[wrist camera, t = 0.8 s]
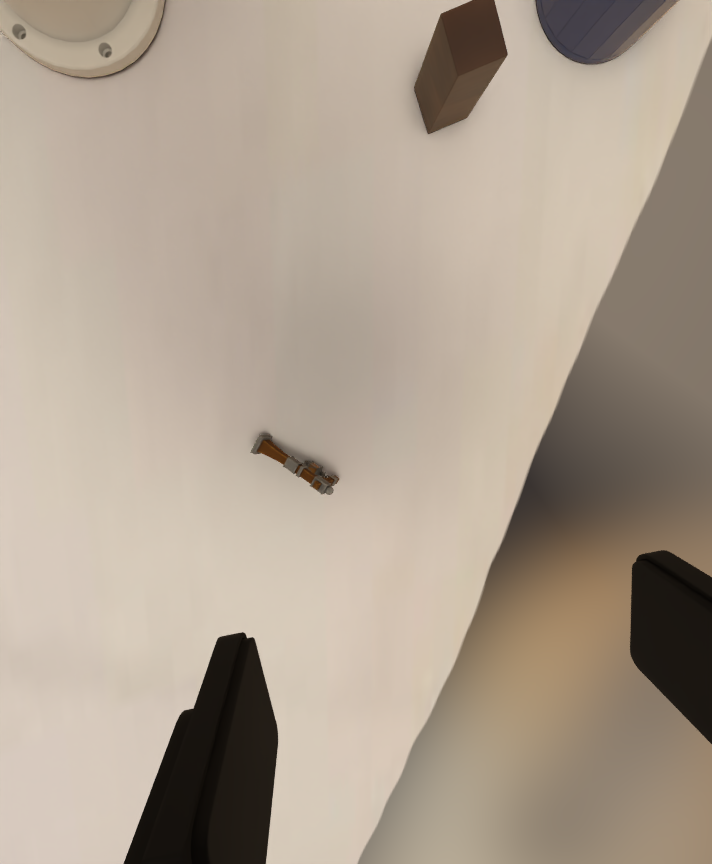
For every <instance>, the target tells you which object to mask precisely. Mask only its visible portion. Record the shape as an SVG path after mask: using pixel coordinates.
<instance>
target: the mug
mask: <svg viewBox="0 0 712 864" xmlns="http://www.w3.org/2000/svg"><path fill="white" fill-rule="evenodd" d="M679 1H680V0H536V5H537V10H538V15H539V19H540V22H541V25H542V27H543V29H544V32H545V33H546V35H547V37H548V39H549V40H550V41H551V43H552V44H553V45H554V47H555V48H556V49H557V50H558V51H559V52H561V53H562V54H563V55H565V56H566V57H568V58H570V59H572V60H574V61H577V62H580V63H585V64H597V63H603V62H606V61H609V60H612V59H614V58H616V57H618V56H619V55H621V54H622V53H624V52H625V51H626V50H627V49H629V48H630V47H631V46H632V45H633V44H634V43H635V42H636V41H637V40H638V39H640V38H641V37H642V36H643V35H644V34H645V33H646V32H647V31H648V30H649V29H650V28H651V27H652V26H653V25H654V24H655V23H657V22H658V21H659V20H660V19H661V18H662V17H663V16H664V15H665V14H666V13H667V12H668V11H669V10H670V9H671V8H672V7H673V6H674V5H675V4H676V3H677V2H679Z"/></svg>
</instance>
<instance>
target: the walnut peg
mask: <svg viewBox="0 0 712 864" xmlns="http://www.w3.org/2000/svg"><path fill="white" fill-rule="evenodd" d="M507 55H508V53H507V49H506V45H505V41H504V37H503V33H502V29H501V25H500V21H499V17H498V13H497V9H496V5H495V1H494V0H472V1H470V2H468V3H465V4H463V5H461V6H458V7H456V8H453V9H451V10H449V11H446V12H444V13H442V14H441V15H440V18H439V20H438V23H437V26H436V29H435V31H434V34H433V37H432V40H431V42H430V45H429V48H428V51H427V53H426V56H425V59H424V61H423V64H422V67H421V70H420V72H419V75H418V78H417V81H416V83H415V86H414V89H415V92H416V95H417V99H418V102H419V105H420V108H421V112H422V115H423V118H424V121H425V125H426V128H427V131H428V134H429V133H432V132H434V131H436V130H439V129H441V128H444V127H446V126H448V125H451V124H453V123H455V122H458V121H460V120H463V119H465V118H467V117H468V115H469V114H470V112H471V111H472V109H473V108H474V106H475V105H476V103H477V101H478V100H479V98H480V97H481V95H482V94H483V92H484V91H485V89H486V88H487V86H488V84H489V83H490V81H491V80H492V78H493V77H494V75H495V74H496V72H497V71H498V69H499V68H500V66H501V64H502V63H503V61H504V60H505V58H506V57H507Z"/></svg>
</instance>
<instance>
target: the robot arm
mask: <svg viewBox="0 0 712 864" xmlns="http://www.w3.org/2000/svg"><path fill="white" fill-rule="evenodd" d="M164 2H165V0H0V30H1V32H2V33H3V34H4V35H5V36H6V37H8V38H9V39H10V40H11V41H12V42H13V43H14V44H15V45H16V46H17V47H18V48H19V49H20V50H22V51H23V52H24V53H26V54H27V55H28V56H30V57H31V58H32V59H34V60H35V61H36V62H38V63H40V64H42V65H44V66H46V67H48V68H50V69H52V70H54V71H57V72H61V73H64V74H67V75H70V76H78V77H88V78H90V77H98V76H106V75H109V74H112V73H115V72H117V71H120V70H122V69H124V68H125V67H127V66H128V65H130V64H132V63H133V62H135V61H136V60H137V59H138V58H139V57H140V56H141V55H142V53H143V52H144V51H145V50H146V49H147V48H148V46H149V45H150V43H151V41H152V40H153V38H154V36H155V35H156V33H157V30H158V27H159V24H160V21H161V18H162V15H163V9H164ZM630 653H631V657H632V659H633V661H634V663H635V665H636V666H637V667H638V669H639V670H640V671H641V672H642V673H643V674H644V675H645V676H646V677H647V678H648V679H649V680H650V681H651V682H652V683H653V684H654V685H655V686H656V687H657V688H658V689H659V690H660V691H661V692H662V693H663V694H664V696H666V698H668V699H669V701H670V702H671V703H672V704H673V705H674V706H675V707H676V708H677V709H678V710H679V711H680V712H681V713H682V714H683V715H684V716H685V717H686V718H687V719H688V720H689V721H690V722H691V723H692V724H693V725H694V726H695V727H696V728H697V729H698V730H699V731H700V732H701V734H702V735H704V737H705V738H706V739H707V740H708V741H709V742H710V743H711V744H712V577H710V576H709V575H707V574H705V573H704V572H702V571H700V570H699V569H697V568H695V567H694V566H692V565H691V564H688V563H687V562H686V561H684V560H682V559H681V558H679V557H677V556H675V555H674V554H672V553H670V552H668V551H664V550H663V551H662V550H661V551H656V552H651V553H646V554H642V555H639V556H638V558H637V560H636V562H635V563H634V564H633V566H632V595H631V638H630ZM277 748H278V730H277V724H276V720H275V716H274V712H273V709H272V705H271V701H270V697H269V693H268V689H267V685H266V681H265V677H264V674H263V670H262V666H261V662H260V658H259V654H258V650H257V646H256V642H255V639H254V638H253V637H252V638H247V637H246V634H245V633H243V632H242V633H237V634H232V635H227V636H222V637H219V638H218V640H217V642H216V645H215V647H214V650H213V653H212V656H211V659H210V662H209V665H208V668H207V671H206V674H205V677H204V680H203V683H202V686H201V689H200V691H199V694H198V697H197V700H196V703H195V706H194V709H189V710H185V711H183V712H182V713H181V715H180V716H179V718H178V720H177V722H176V725H175V728H174V730H173V733H172V736H171V738H170V741H169V744H168V746H167V749H166V752H165V754H164V757H163V760H162V762H161V765H160V768H159V770H158V773H157V776H156V779H155V781H154V784H153V787H152V789H151V792H150V795H149V797H148V800H147V803H146V805H145V808H144V811H143V813H142V816H141V819H140V821H139V824H138V827H137V829H136V832H135V835H134V837H133V840H132V843H131V845H130V848H129V851H128V853H127V856H126V859H125V861H124V864H266V856H267V846H268V836H269V827H270V817H271V807H272V797H273V788H274V778H275V768H276V758H277Z"/></svg>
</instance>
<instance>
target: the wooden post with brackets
mask: <svg viewBox="0 0 712 864" xmlns="http://www.w3.org/2000/svg"><path fill="white" fill-rule="evenodd" d="M271 439H272V437H271V436H270V434H267V435H259V437H258V439H257V441H256V443H255V445H254V446H253V448H252V450H251V452H250V453H253V454H260V453H262V454H265V455H267V456H269V457H271V458H273V459H275V460H277V461H278V462H280V463H282V464H283V465H284V466H283V467H285V468H287V469H288V470H290V471H291V472H292V473H293V474H295V473H296V476H297V477H302V478H303V479H304V480H306V481H307V482H309V483H310V484H311V485H310V486H311V487H313V488H314V489H316V490H317V491H318V492H320V493H321V494H324V493H326V494H328V495H331V494H332V493H333V488H332V487H331V486H334V485H335V484H337V482H338V480H339V478H338V477H337V476H332V475H331V476H328V475H327V476H328V478H327V476H325V473H326V472H324V473H323V472H322V469H323V466H322V467H319V466H317V465H316V464H315V463H314V462H313V461H312V462H308V461H305V462H304V463H301V462H299V461H298V460H296V459H295V458H294V457H293V456H292V457H290V456H288V455H287V454H286V453H284V452H283V451H282V450H281V449H279V448H278V447H277V446H276V445H275V444H274V443H273V442H272V441H271ZM302 464H303V465H302Z"/></svg>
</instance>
